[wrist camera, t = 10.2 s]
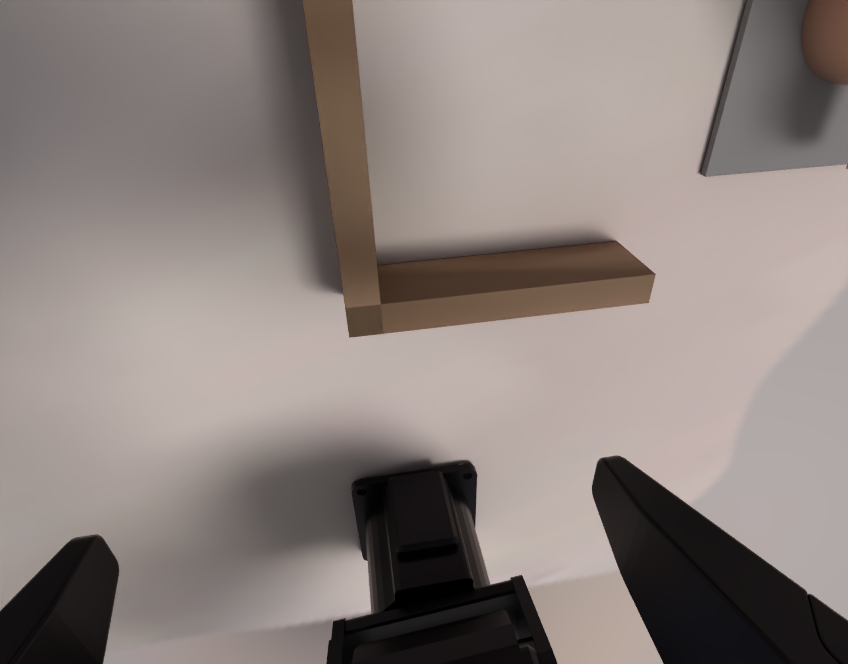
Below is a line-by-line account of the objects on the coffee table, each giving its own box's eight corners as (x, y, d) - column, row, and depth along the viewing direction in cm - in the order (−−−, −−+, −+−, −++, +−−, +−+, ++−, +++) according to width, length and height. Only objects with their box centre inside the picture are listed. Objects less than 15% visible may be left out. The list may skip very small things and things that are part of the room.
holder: (612, 267, 22) (648, 302, 19) (346, 295, 20) (349, 337, 18) (750, -471, 12) (866, -597, 9) (238, -504, 10) (210, -661, 8)
